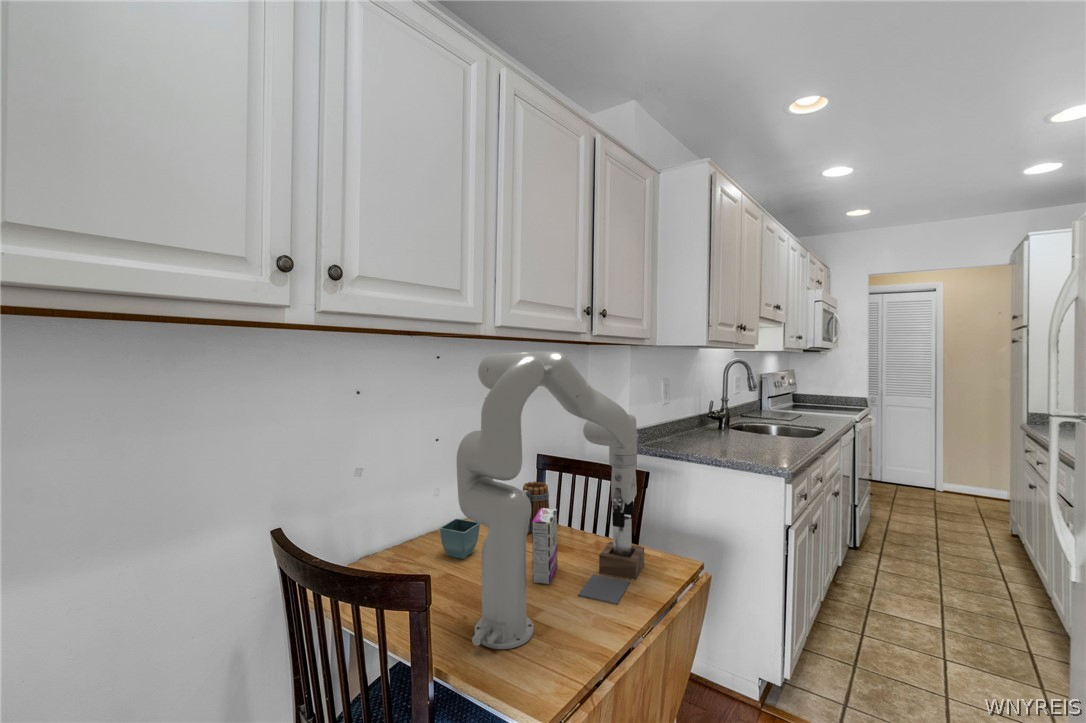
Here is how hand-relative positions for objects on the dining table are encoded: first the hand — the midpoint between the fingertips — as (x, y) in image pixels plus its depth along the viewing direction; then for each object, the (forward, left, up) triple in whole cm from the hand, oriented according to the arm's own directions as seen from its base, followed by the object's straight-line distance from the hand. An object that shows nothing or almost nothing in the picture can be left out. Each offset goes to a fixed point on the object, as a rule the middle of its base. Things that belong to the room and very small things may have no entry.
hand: (623, 520), depth 134 cm
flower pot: (-11, +46, -14) cm, 50 cm away
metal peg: (0, 0, -14) cm, 13 cm away
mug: (+14, +35, -14) cm, 40 cm away
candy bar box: (-13, +18, -14) cm, 26 cm away
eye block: (0, 0, -13) cm, 13 cm away
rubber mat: (-13, +1, -13) cm, 19 cm away
